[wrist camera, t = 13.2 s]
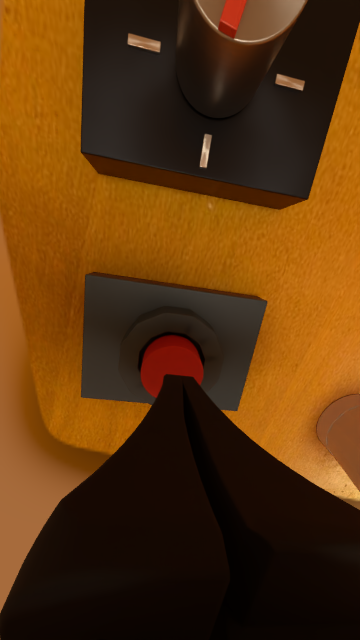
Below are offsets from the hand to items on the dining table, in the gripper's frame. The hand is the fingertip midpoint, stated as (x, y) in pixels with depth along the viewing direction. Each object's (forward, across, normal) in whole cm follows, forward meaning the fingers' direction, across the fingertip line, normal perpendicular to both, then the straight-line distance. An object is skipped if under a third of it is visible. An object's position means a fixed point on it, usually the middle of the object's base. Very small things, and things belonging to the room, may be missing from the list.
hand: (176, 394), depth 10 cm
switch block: (+7, 0, 0) cm, 7 cm away
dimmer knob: (+4, 0, -15) cm, 15 cm away
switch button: (+4, 0, 0) cm, 4 cm away
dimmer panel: (+7, 0, -14) cm, 16 cm away
